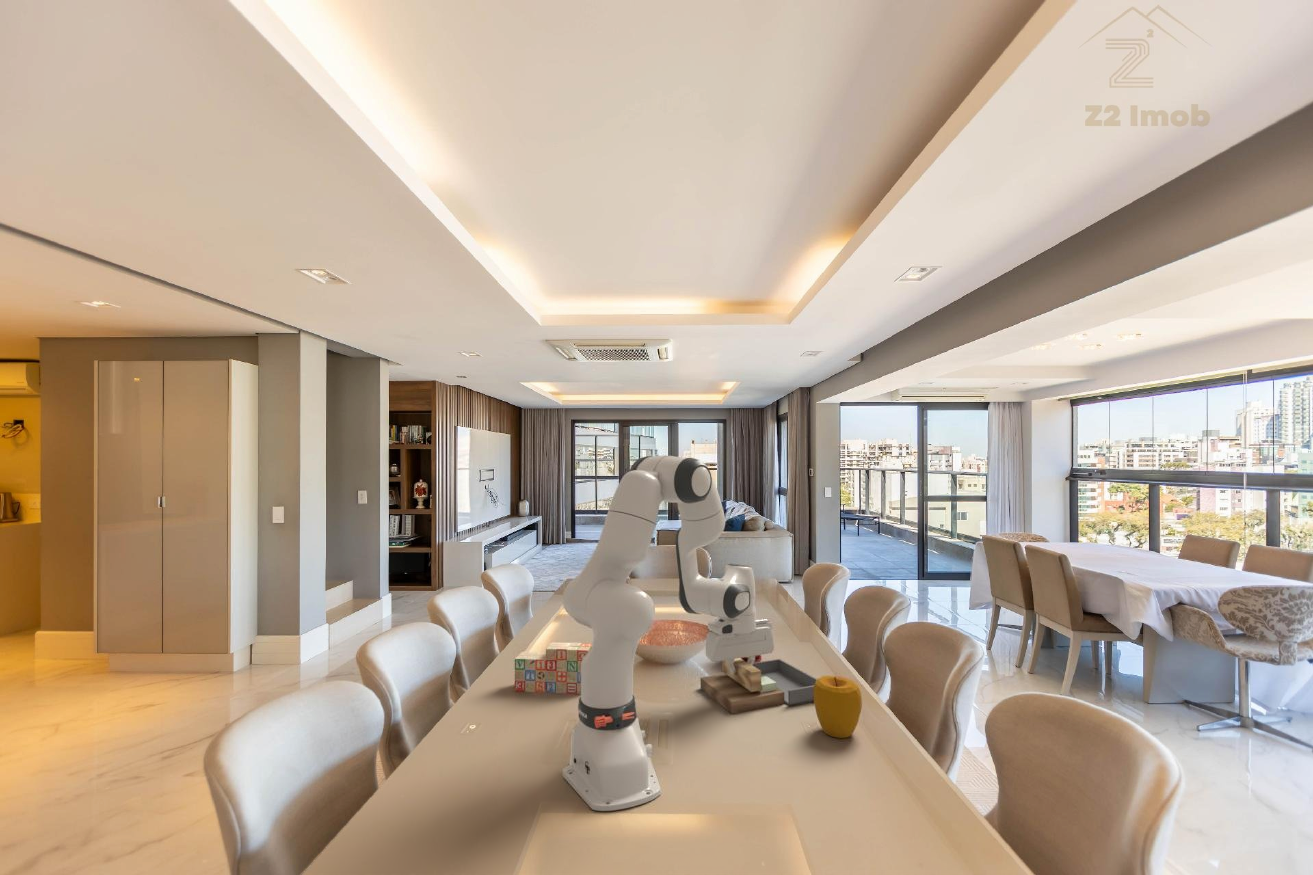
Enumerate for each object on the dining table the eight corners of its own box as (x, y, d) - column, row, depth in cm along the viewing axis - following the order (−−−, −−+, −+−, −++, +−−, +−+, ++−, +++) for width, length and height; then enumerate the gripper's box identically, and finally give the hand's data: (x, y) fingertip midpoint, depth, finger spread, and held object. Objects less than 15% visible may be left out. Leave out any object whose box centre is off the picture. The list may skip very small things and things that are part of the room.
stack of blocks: (513, 692, 157) (514, 647, 158) (521, 683, 163) (521, 641, 164) (587, 694, 155) (588, 649, 156) (592, 685, 161) (592, 642, 162)
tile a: (776, 689, 149) (776, 682, 149) (760, 692, 147) (760, 685, 147) (766, 683, 154) (766, 675, 154) (750, 686, 152) (750, 678, 152)
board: (784, 703, 148) (784, 691, 148) (732, 713, 142) (731, 701, 142) (748, 679, 164) (748, 669, 164) (700, 688, 158) (700, 677, 158)
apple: (860, 725, 135) (859, 671, 136) (864, 746, 124) (863, 688, 125) (813, 720, 138) (812, 667, 138) (814, 740, 127) (812, 683, 128)
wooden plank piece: (762, 689, 147) (761, 670, 147) (751, 691, 145) (751, 672, 146) (731, 669, 161) (731, 652, 162) (722, 671, 160) (721, 653, 160)
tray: (826, 698, 150) (826, 683, 151) (789, 706, 146) (789, 690, 146) (779, 671, 171) (779, 658, 171) (746, 677, 166) (745, 663, 166)
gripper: (765, 615, 161) (766, 663, 160) (702, 623, 153) (703, 674, 153) (778, 620, 155) (779, 671, 154) (713, 629, 147) (714, 682, 147)
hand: (740, 672), depth 153 cm, fingers closed on wooden plank piece, 3 cm apart
